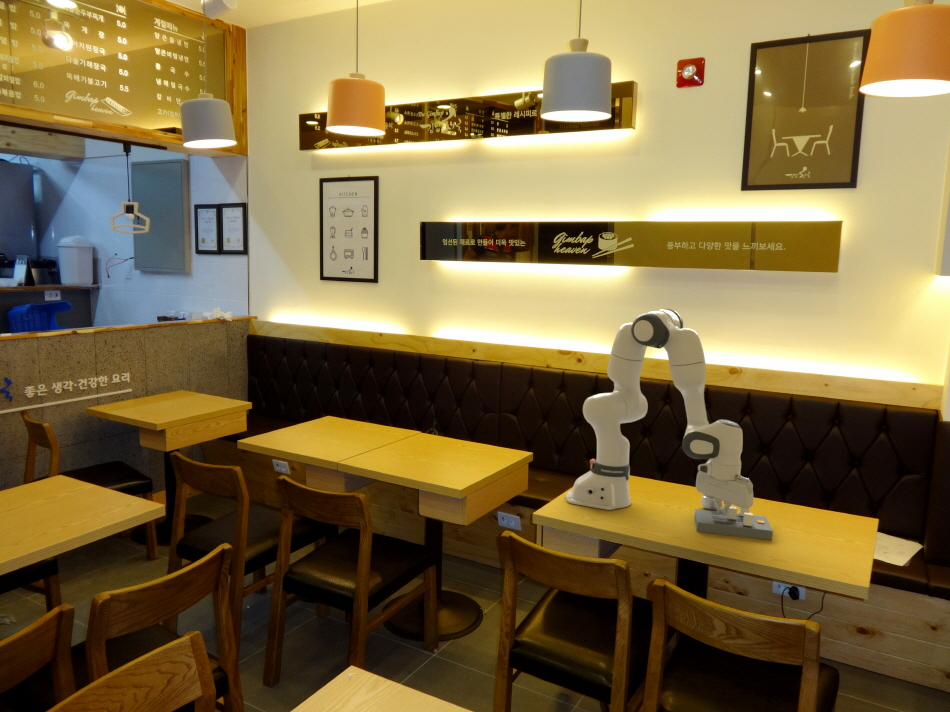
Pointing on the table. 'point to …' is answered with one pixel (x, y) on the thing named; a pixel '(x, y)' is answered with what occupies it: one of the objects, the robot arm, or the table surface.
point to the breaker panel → (732, 525)
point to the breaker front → (748, 519)
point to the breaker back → (743, 511)
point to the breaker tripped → (732, 513)
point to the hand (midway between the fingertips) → (722, 513)
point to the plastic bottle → (708, 499)
